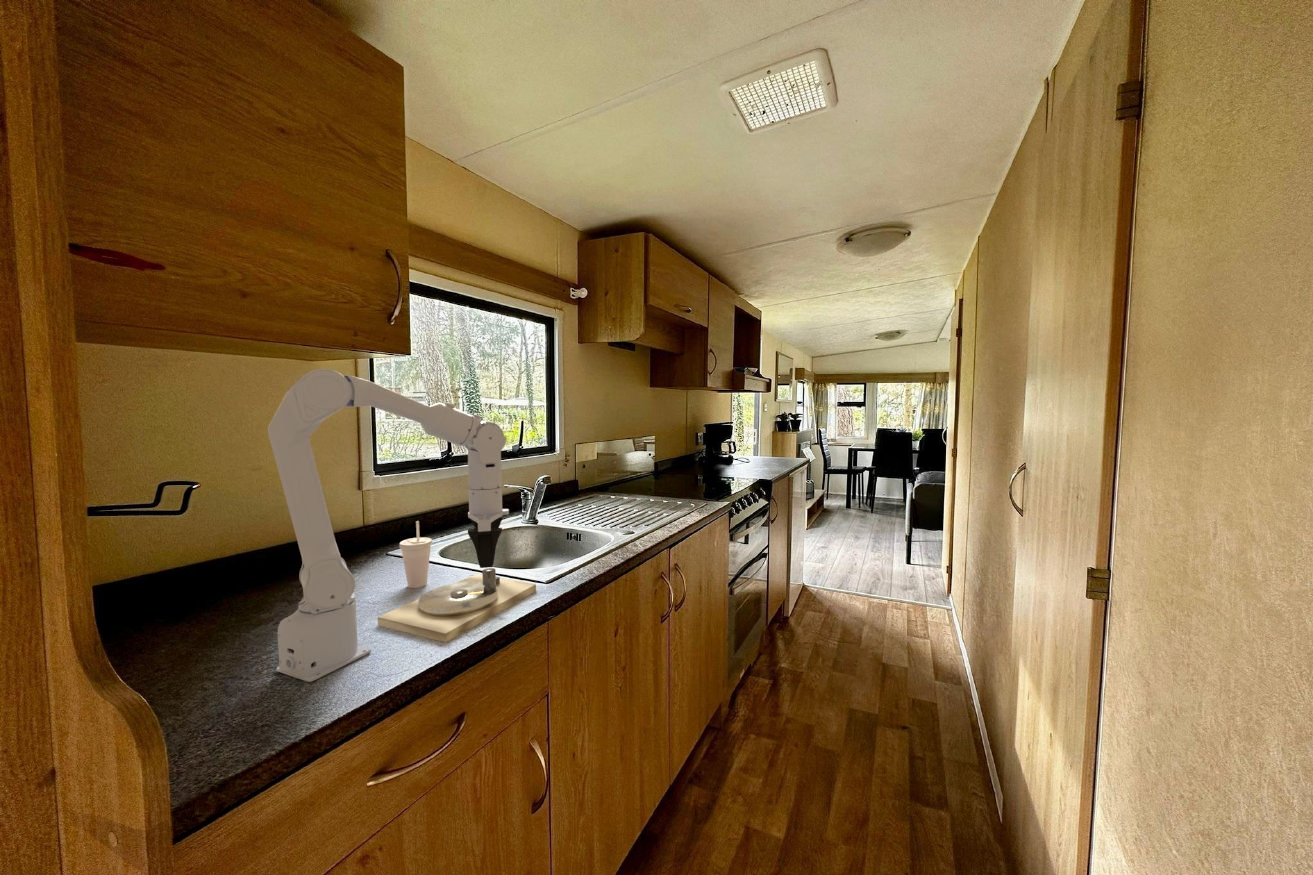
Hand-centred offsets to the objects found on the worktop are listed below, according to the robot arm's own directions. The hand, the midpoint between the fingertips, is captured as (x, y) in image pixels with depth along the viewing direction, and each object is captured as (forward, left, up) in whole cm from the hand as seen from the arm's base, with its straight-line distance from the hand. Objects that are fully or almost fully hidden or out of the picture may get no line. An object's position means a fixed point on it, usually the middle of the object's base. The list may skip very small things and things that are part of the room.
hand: (487, 560), depth 90 cm
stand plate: (0, +7, -10) cm, 13 cm away
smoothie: (+6, +25, -11) cm, 28 cm away
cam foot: (0, +7, -9) cm, 11 cm away
